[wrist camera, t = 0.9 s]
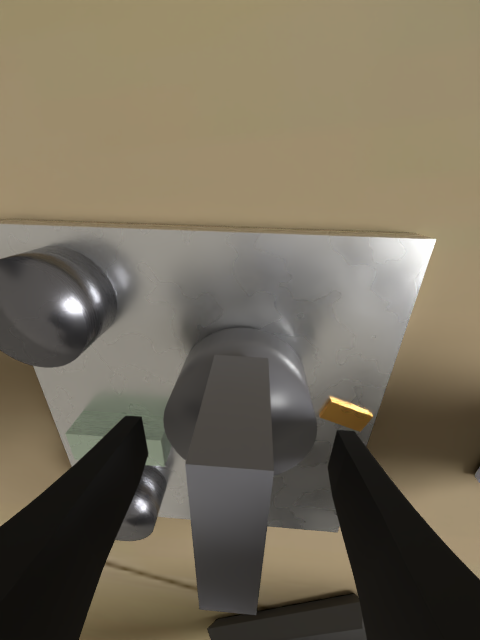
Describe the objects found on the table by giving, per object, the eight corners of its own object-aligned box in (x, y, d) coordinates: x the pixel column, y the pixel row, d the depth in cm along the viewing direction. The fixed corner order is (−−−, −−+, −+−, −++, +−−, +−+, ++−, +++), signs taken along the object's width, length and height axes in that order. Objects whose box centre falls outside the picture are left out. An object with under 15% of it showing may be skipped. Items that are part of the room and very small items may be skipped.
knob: (315, 321, 12) (381, 479, 5) (287, 492, 17) (303, 673, 11) (177, 314, 12) (85, 456, 6) (192, 485, 17) (153, 656, 11)
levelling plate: (415, 233, 11) (483, 253, 8) (332, 509, 20) (347, 576, 17) (9, 219, 12) (-91, 231, 9) (99, 490, 21) (67, 549, 18)
